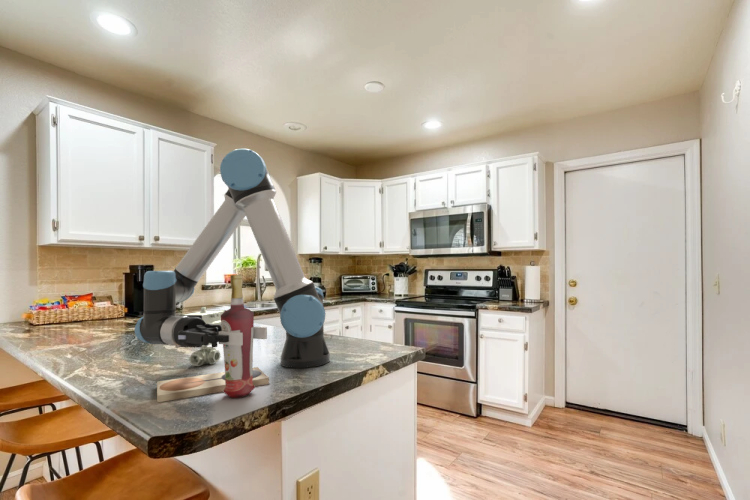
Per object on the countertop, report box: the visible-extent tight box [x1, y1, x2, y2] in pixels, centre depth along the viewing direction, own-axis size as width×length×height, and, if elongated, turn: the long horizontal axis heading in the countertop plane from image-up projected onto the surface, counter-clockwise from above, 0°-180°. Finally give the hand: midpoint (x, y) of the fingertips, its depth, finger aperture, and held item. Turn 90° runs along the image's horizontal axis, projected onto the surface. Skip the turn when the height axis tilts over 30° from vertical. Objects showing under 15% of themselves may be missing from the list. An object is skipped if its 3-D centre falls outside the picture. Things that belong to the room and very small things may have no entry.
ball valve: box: [178, 306, 227, 367], centre depth 123 cm, size 18×8×18 cm, turn 168°
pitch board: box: [156, 366, 270, 403], centre depth 99 cm, size 25×13×4 cm, turn 119°
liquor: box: [221, 274, 256, 399], centre depth 91 cm, size 7×7×28 cm
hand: (254, 336), depth 89 cm, fingers closed on liquor, 7 cm apart
